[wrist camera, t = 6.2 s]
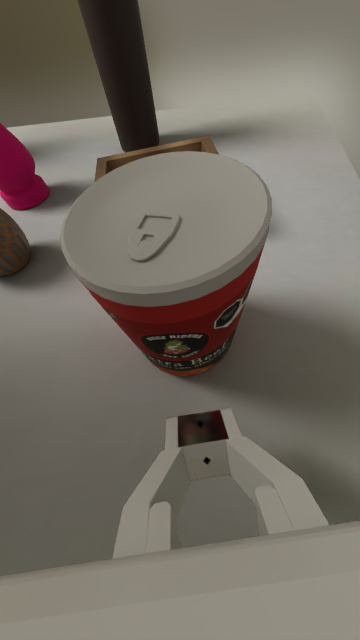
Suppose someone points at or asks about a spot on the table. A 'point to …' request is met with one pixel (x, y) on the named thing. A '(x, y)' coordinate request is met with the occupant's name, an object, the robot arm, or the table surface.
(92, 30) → the bottle
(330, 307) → the table surface
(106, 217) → the canned food
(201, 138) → the bay
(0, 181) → the pepper mill
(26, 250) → the vase
